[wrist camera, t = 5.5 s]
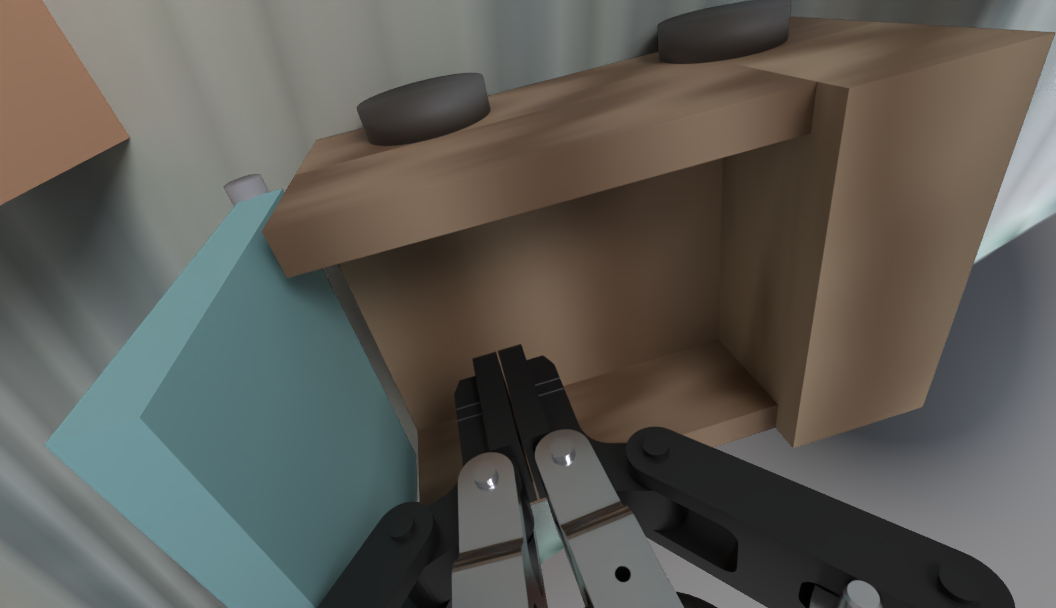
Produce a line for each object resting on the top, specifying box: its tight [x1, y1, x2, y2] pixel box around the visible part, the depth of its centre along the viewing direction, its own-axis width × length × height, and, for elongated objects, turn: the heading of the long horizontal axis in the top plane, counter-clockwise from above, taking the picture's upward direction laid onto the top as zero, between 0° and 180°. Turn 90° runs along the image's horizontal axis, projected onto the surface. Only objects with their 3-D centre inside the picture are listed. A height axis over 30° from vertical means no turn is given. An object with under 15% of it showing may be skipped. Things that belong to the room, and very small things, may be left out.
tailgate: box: [44, 174, 417, 608], centre depth 14 cm, size 2×12×10 cm, turn 12°
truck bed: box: [262, 0, 1055, 507], centre depth 17 cm, size 18×14×9 cm
